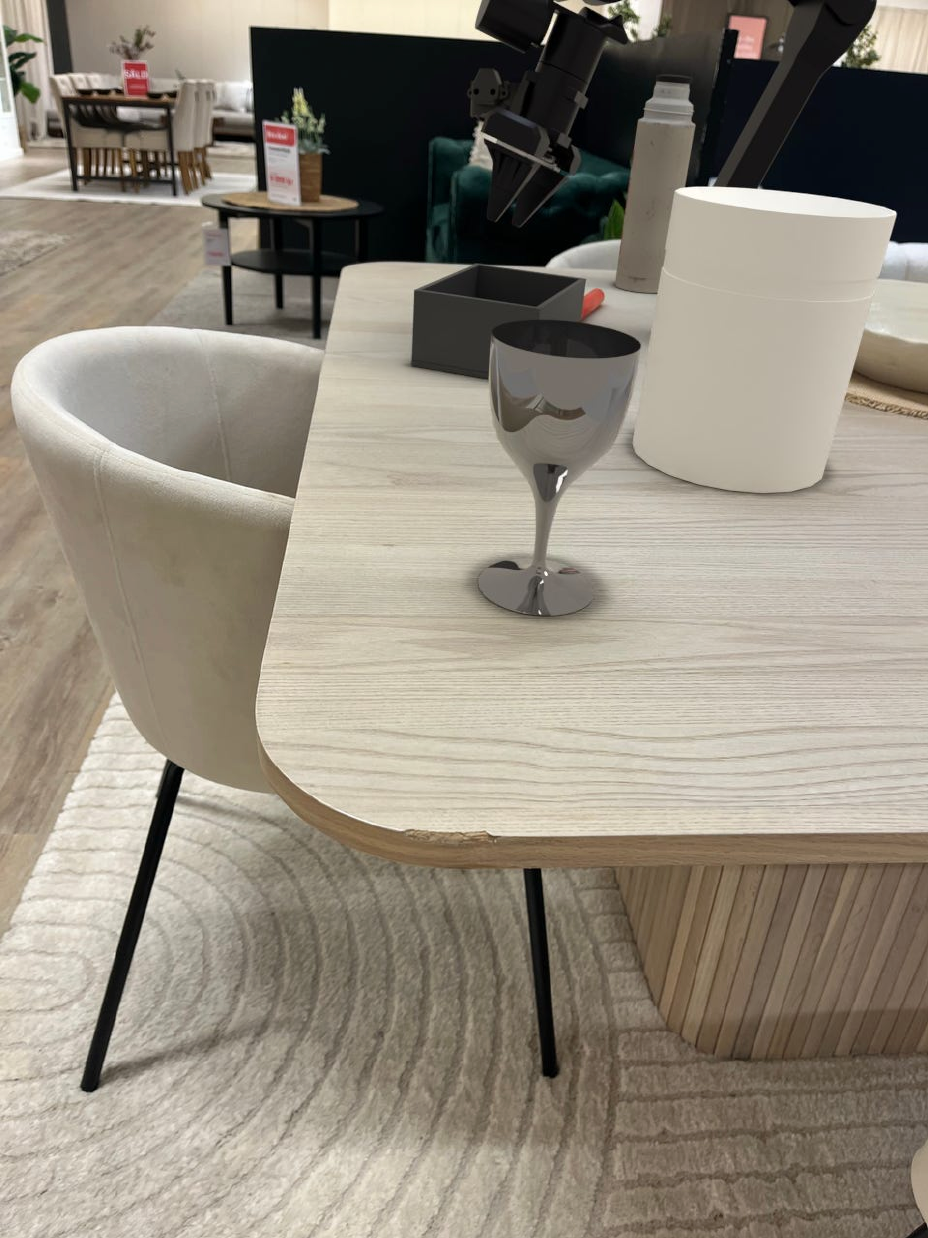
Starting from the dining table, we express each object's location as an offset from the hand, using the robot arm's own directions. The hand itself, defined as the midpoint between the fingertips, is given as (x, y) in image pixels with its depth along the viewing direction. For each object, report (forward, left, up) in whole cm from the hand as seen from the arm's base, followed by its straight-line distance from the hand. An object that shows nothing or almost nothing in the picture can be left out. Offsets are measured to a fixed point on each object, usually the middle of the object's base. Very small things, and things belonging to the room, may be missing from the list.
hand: (503, 222), depth 103 cm
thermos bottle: (-41, +10, -13) cm, 44 cm away
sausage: (-18, +6, -12) cm, 23 cm away
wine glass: (+58, +23, -13) cm, 63 cm away
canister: (+28, +30, -13) cm, 43 cm away
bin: (+9, +4, -12) cm, 16 cm away
